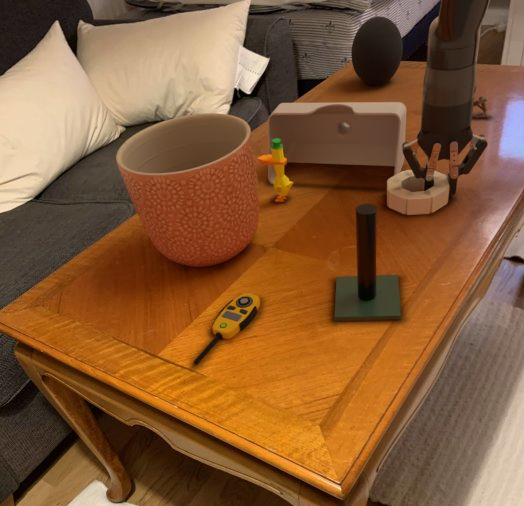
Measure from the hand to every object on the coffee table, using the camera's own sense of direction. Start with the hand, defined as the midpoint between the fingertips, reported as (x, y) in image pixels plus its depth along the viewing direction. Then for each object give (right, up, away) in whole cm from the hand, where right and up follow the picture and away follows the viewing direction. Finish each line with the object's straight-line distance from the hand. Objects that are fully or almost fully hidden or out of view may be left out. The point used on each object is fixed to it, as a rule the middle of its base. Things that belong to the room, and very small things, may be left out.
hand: (439, 196), depth 91 cm
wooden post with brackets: (+14, +23, +21) cm, 34 cm away
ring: (-4, 0, +1) cm, 4 cm away
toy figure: (-27, +1, +8) cm, 29 cm away
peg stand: (-16, -20, -16) cm, 30 cm away
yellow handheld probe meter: (-36, -25, -16) cm, 46 cm away
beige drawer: (-15, +9, +14) cm, 23 cm away
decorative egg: (-2, +41, +42) cm, 59 cm away
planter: (-40, -9, +1) cm, 41 cm away
